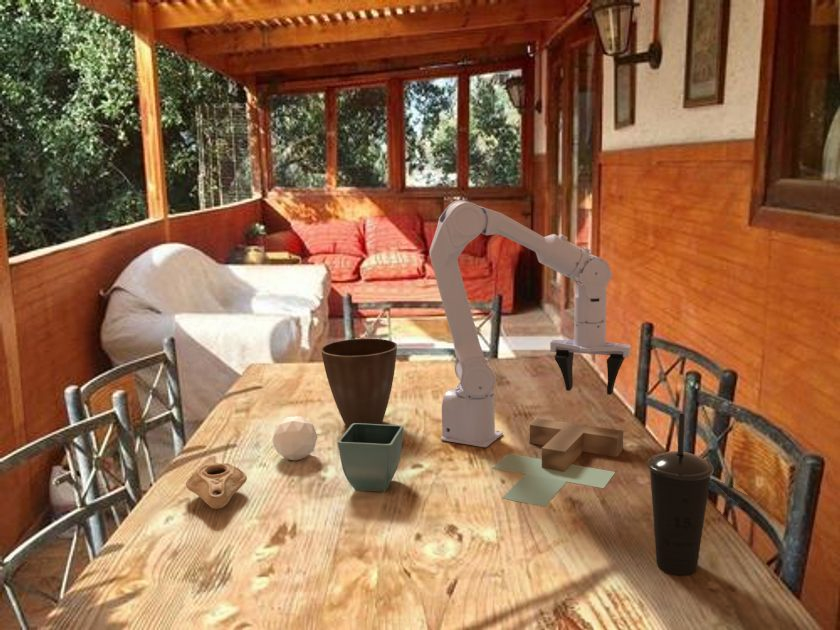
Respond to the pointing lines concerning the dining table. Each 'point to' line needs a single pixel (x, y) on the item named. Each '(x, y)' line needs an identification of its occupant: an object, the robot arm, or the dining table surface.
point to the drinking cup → (679, 506)
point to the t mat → (546, 479)
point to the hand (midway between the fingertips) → (589, 391)
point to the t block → (572, 442)
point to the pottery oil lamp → (216, 483)
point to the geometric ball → (294, 438)
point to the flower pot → (370, 455)
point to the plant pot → (360, 377)
